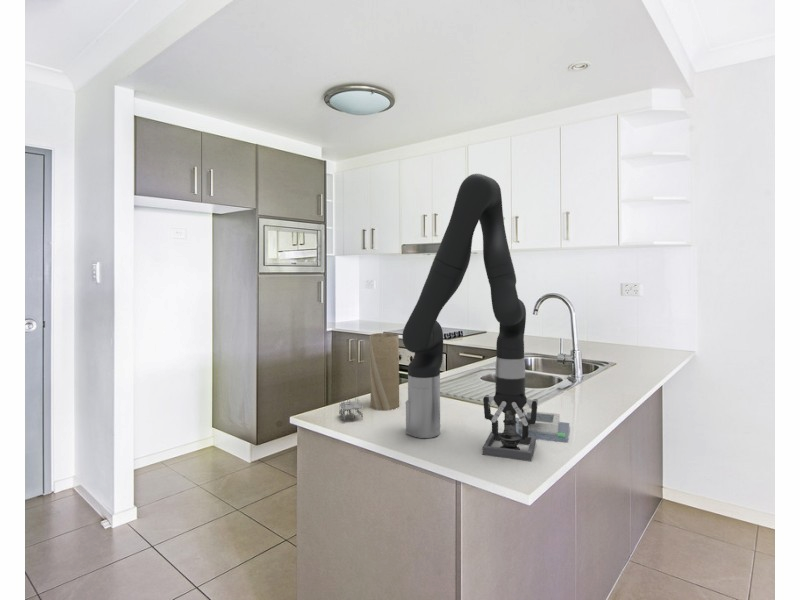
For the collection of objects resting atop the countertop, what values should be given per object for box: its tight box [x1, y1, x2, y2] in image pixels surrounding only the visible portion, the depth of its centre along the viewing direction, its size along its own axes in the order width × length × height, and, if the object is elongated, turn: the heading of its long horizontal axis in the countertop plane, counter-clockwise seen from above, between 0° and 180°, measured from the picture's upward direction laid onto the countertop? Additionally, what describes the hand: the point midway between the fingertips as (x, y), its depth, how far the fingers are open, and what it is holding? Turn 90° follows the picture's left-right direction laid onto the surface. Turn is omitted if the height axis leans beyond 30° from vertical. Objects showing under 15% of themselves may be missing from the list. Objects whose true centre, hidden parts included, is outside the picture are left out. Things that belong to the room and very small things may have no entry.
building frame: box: [338, 396, 364, 423], centre depth 150 cm, size 6×8×6 cm
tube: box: [369, 332, 400, 411], centre depth 162 cm, size 10×10×25 cm
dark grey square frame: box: [482, 431, 537, 462], centre depth 123 cm, size 12×12×2 cm
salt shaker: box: [499, 410, 521, 450], centre depth 122 cm, size 6×6×12 cm
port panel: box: [516, 410, 570, 443], centre depth 136 cm, size 16×14×4 cm
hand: (510, 436), depth 123 cm, fingers open, 6 cm apart
